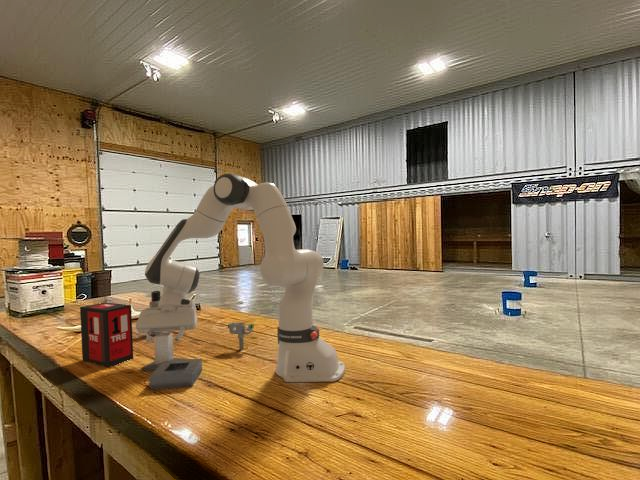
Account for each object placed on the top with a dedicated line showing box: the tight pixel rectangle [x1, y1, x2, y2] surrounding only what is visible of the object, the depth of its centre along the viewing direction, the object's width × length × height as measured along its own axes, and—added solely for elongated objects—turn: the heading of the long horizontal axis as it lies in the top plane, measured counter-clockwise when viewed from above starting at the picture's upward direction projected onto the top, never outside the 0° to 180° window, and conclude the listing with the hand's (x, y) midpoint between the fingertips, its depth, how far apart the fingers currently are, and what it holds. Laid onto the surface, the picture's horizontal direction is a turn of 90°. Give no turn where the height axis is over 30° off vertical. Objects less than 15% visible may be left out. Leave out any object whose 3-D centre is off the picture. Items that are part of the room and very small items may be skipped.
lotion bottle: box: [148, 290, 165, 336], centre depth 156 cm, size 6×6×20 cm
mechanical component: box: [227, 322, 255, 351], centre depth 131 cm, size 3×10×10 cm, turn 79°
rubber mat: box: [140, 357, 187, 373], centre depth 116 cm, size 10×10×1 cm
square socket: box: [149, 357, 203, 391], centre depth 105 cm, size 12×12×4 cm
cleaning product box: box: [79, 301, 134, 368], centre depth 124 cm, size 16×9×20 cm, turn 62°
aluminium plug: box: [153, 331, 174, 366], centre depth 116 cm, size 4×4×10 cm
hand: (162, 341), depth 115 cm, fingers open, 8 cm apart
